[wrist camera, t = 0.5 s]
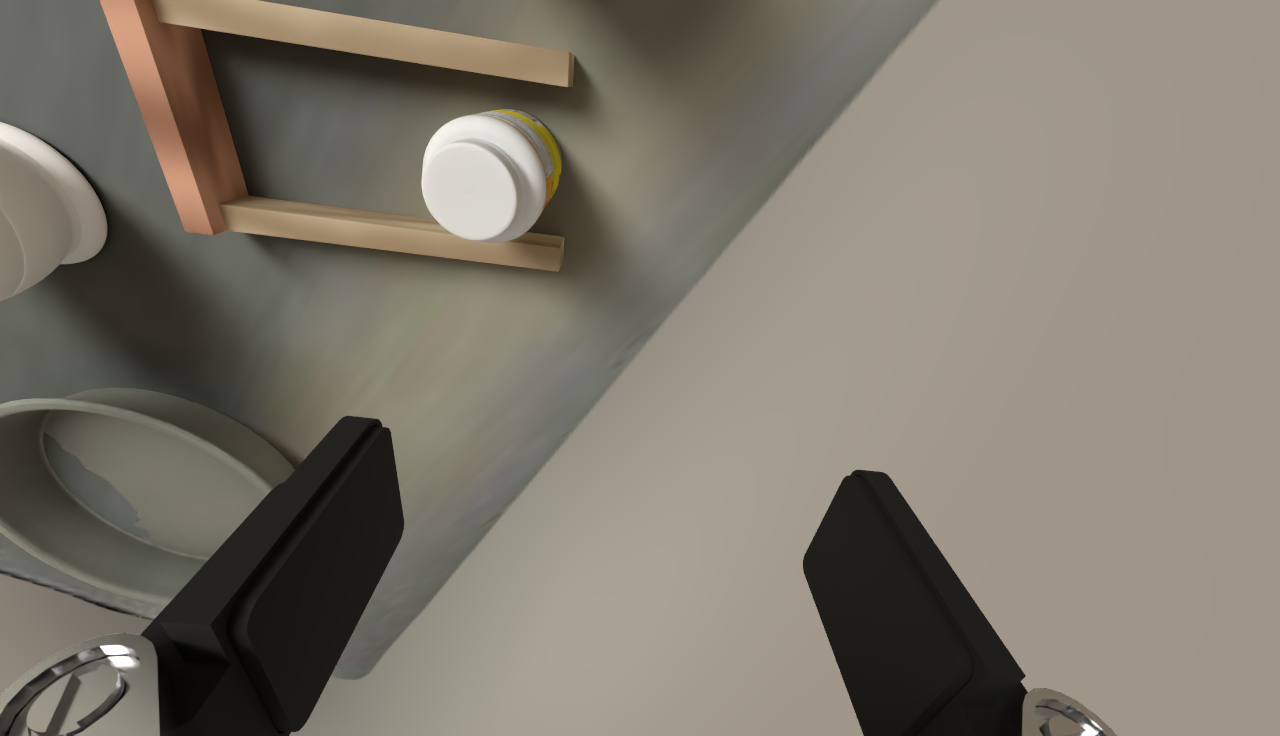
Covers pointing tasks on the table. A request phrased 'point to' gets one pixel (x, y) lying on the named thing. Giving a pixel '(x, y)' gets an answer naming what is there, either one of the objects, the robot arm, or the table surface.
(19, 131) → the jar
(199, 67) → the channel
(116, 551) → the cake pan
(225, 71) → the table surface
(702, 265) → the table surface
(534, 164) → the supplement bottle
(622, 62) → the table surface
